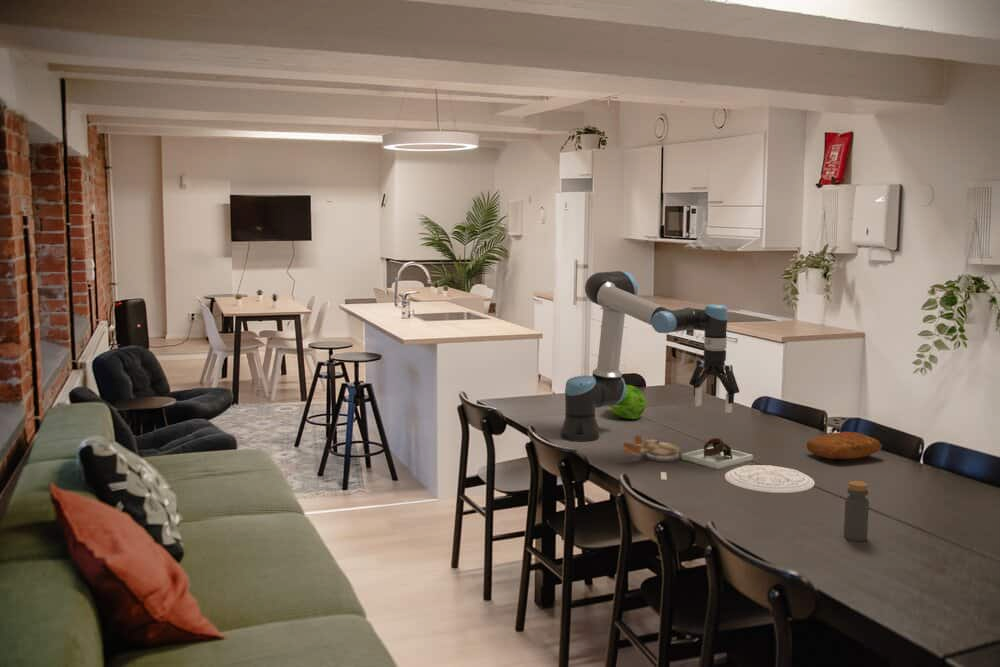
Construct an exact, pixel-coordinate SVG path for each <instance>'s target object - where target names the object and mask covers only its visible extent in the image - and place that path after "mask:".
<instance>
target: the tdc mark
mask: <svg viewBox="0 0 1000 667" xmlns="http://www.w3.org/2000/svg"><path fill="white" fill-rule="evenodd" d="M667 479H668V478H667V472H666V471H665V472H664V471H660V480H661V481H667Z"/></svg>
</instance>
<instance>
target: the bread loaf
mask: <svg viewBox="0 0 1000 667" xmlns="http://www.w3.org/2000/svg"><path fill="white" fill-rule="evenodd" d="M882 446H883V444H882V443H881V441H879V440H878V439H876V438H874V437H871V436H869V435H866V434H864V433H860V432H856V431H853V432H851V431H841V432H833V433H828V434H823V435H821V436H818V437H815V438H813V439H810V440H808V441H807V442H806V448H807V450H808V451H809V452H810V453H811V454H814V455H815V456H818V457H821V458H824V459H825V458H826V459H829V460H830V459H831V460H835V459H836V460H838V459H839V460H850V459H851V460H853V459H860V458H863V457H868V456H870V455H871V456H872V455H873V454H876V453H877V452H880V451H881V450H882Z"/></svg>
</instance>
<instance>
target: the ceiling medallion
mask: <svg viewBox="0 0 1000 667" xmlns="http://www.w3.org/2000/svg"><path fill="white" fill-rule="evenodd" d="M724 479H725V480H726V481H727V482H728V483H729V484H732V485H733V486H736V487H739V488H742V489H745V490H748V491H754V492H760V493H761V492H762V493H769V494H770V493H772V494H792V493H794V494H795V493H801V492H805V491H809V490H810V489H813V488H814V486H815V480H814V479H813V478H812V477H811V476H809V475H807V474H806V473H803V472H801V471H799V470H797V469H795V468H787V467H784V466H783V467H782V466H775V465H771V464H768V465H764V464H763V465H762V464H760V465H758V464H754V465H749V464H747V465H742V466H739V467H735V468H733V469H731V470H728V471H727V472H726V473H725V474H724Z"/></svg>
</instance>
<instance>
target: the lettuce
mask: <svg viewBox="0 0 1000 667" xmlns="http://www.w3.org/2000/svg"><path fill="white" fill-rule="evenodd" d="M626 388H627V389H626V395H625V397H624V399H623V400H622V401H621V402H619V403H617V404H614V405H612V406H609V407H610V409H611V411H612V412H613V413H615V415H616V416H617V417H619V418H623V419H627V420H638V419H639V418H640V416H641V415H642V414H643V413H644V411H645V410H646V407H647V400H646V399H647V398H646V397H645V395H644V393H643V390H641V389H639V388H638V387H636V386H634V385H631V384H626Z"/></svg>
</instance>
